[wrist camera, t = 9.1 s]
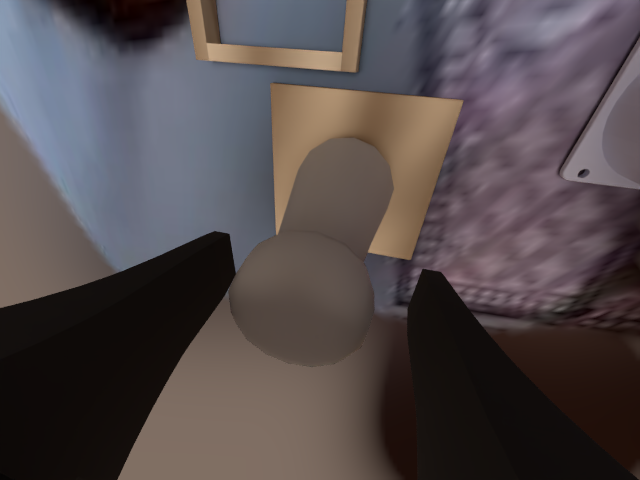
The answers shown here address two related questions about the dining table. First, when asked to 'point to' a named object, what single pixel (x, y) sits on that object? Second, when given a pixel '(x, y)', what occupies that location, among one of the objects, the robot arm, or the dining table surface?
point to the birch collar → (212, 49)
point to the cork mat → (375, 129)
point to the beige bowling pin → (317, 259)
